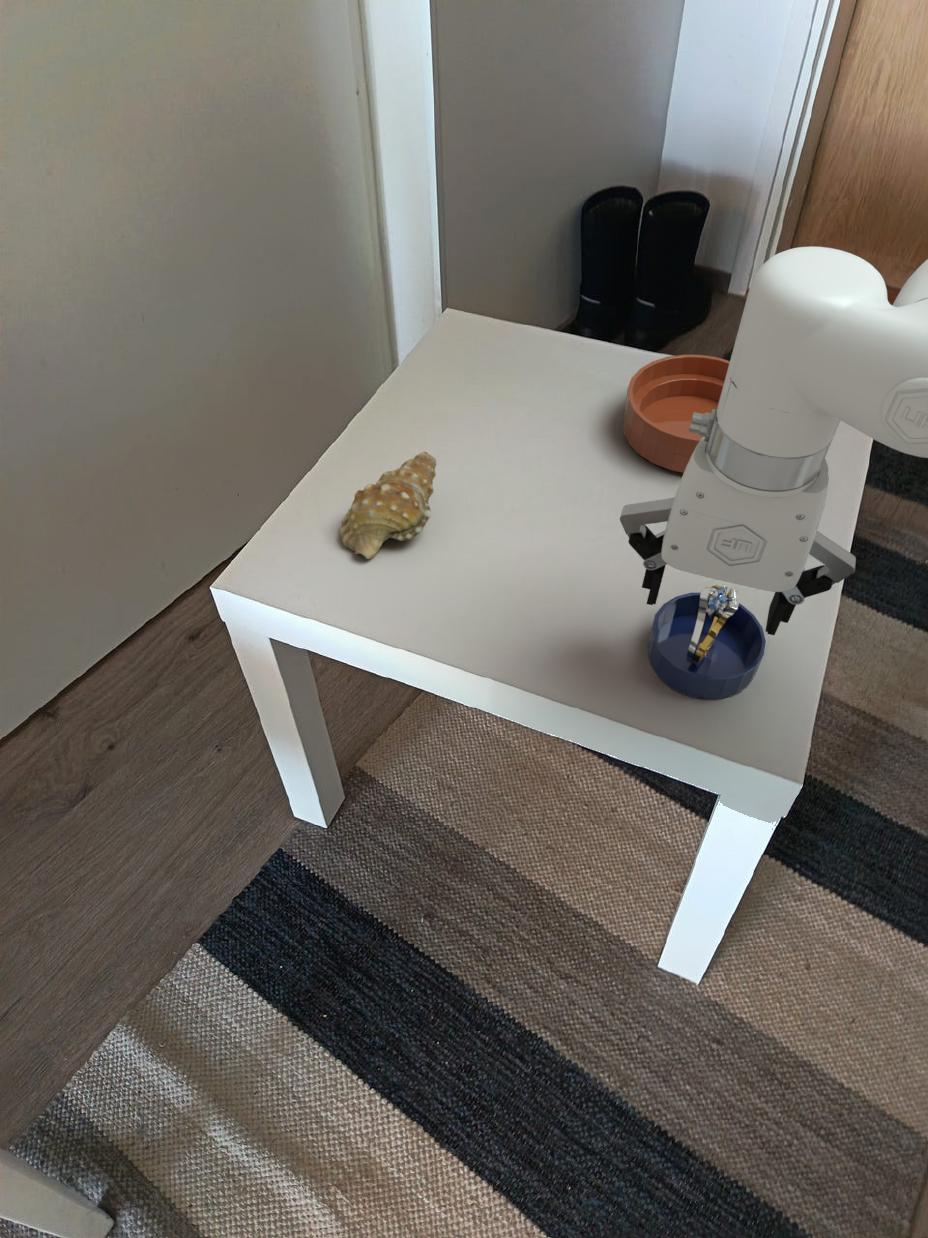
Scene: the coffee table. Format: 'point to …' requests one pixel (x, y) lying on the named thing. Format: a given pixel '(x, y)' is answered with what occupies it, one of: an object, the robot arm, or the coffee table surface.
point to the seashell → (390, 507)
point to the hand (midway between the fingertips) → (711, 606)
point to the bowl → (671, 406)
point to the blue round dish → (727, 658)
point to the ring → (724, 610)
